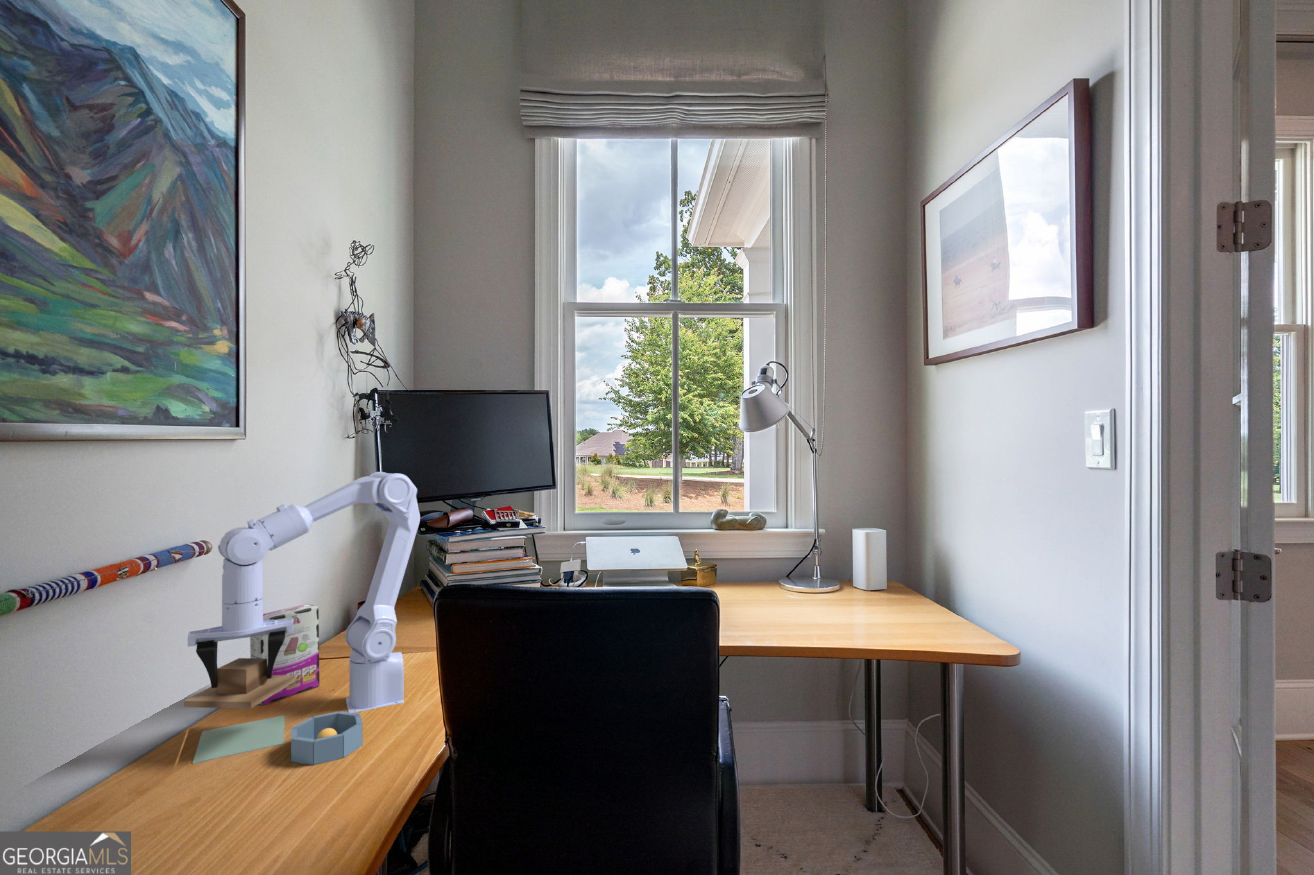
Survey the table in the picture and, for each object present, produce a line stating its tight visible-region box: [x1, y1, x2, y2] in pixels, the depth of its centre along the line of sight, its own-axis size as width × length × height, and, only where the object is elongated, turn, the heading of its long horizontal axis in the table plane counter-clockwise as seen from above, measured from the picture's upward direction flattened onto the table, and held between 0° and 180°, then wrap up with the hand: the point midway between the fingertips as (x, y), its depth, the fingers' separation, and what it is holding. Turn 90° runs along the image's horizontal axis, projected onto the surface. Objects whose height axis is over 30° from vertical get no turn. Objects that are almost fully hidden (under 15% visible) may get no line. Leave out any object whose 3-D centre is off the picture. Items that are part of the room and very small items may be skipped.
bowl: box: [290, 710, 363, 766], centre depth 99 cm, size 10×10×4 cm
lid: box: [183, 657, 295, 709], centre depth 102 cm, size 11×11×5 cm
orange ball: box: [317, 728, 337, 739], centre depth 99 cm, size 3×3×3 cm
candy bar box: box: [249, 603, 321, 706], centre depth 122 cm, size 11×5×16 cm, turn 148°
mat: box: [192, 714, 286, 765], centre depth 102 cm, size 12×12×1 cm
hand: (242, 681), depth 102 cm, fingers closed on lid, 7 cm apart
